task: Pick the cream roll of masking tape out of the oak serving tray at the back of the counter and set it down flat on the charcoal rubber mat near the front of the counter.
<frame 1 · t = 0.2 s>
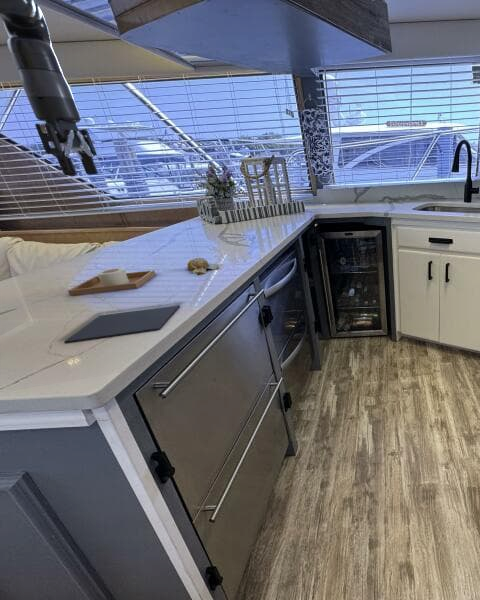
hand: (82, 174, 78), 29 cm above the worktop, tool pointing down, fingers open, 8 cm apart
tray: (117, 286, 91), on the worktop
turtle figurine: (202, 271, 102), on the worktop
mat: (128, 323, 68), on the worktop
tape: (116, 284, 90), point 1 cm above the worktop, touching tray
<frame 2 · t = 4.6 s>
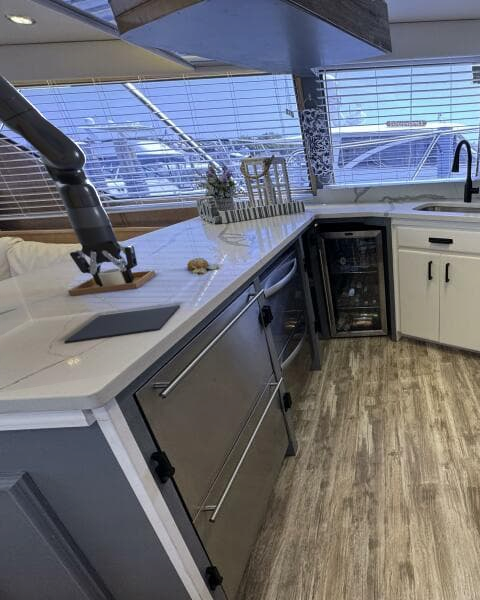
hand: (117, 284, 90), 1 cm above the worktop, tool pointing down, fingers closed on tape, 6 cm apart
tape: (117, 284, 91), point 1 cm above the worktop, touching gripper, tray
everything else where it was.
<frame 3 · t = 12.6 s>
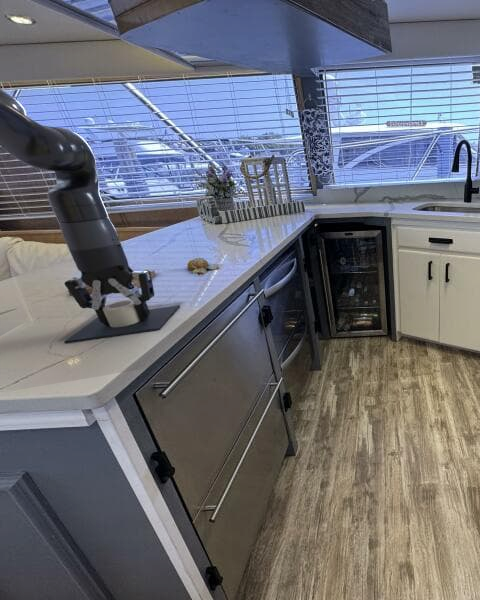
hand: (127, 321, 68), 0 cm above the worktop, tool pointing down, fingers closed on tape, 6 cm apart
tape: (127, 321, 68), resting on mat, touching gripper
everything else where it was.
when the fingers open (2 cm above the worktop, at t = 23.5 s): tape drops 1 cm, resting on mat.
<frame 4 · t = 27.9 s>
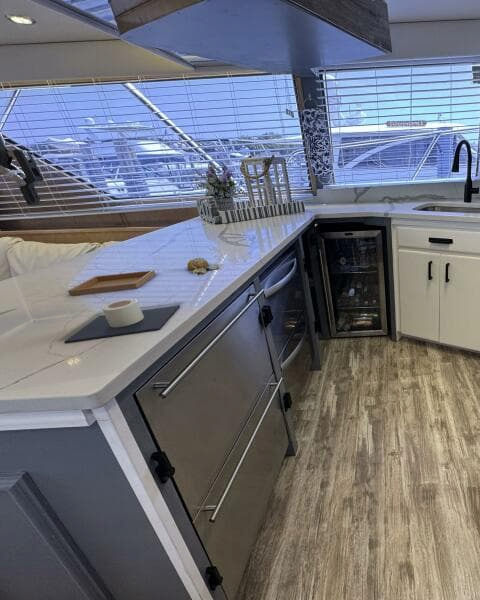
hand: (8, 206, 66), 24 cm above the worktop, tool pointing down, fingers open, 8 cm apart
tape: (127, 321, 68), resting on mat
everything else where it was.
at the end: tape inside the target area on the mat (0.1 cm from its centre), point 0.4 cm above the mat's base; tape touching mat; tape tilted 0° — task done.
